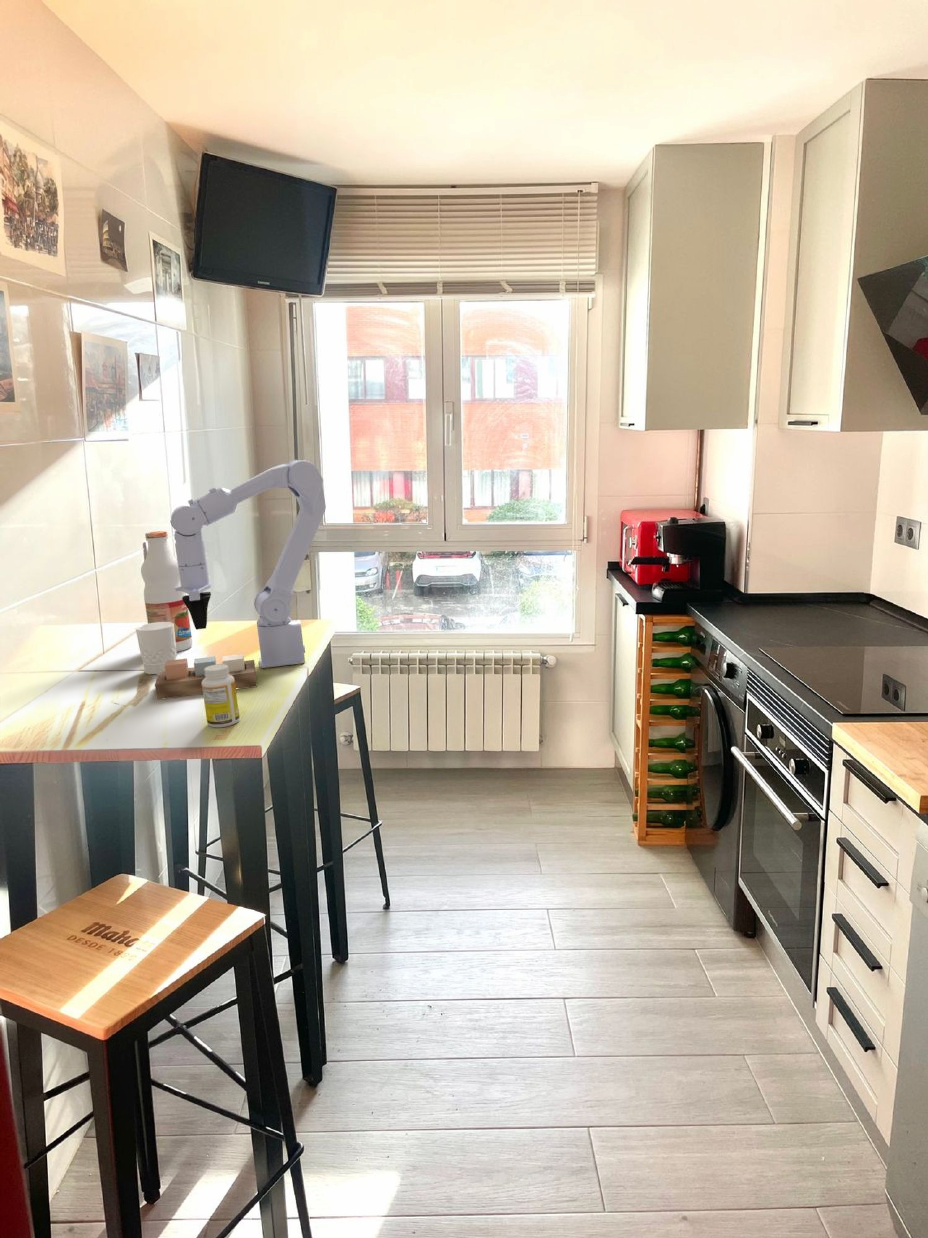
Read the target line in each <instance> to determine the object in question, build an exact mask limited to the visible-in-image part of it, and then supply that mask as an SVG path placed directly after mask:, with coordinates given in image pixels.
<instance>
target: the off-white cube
mask: <svg viewBox="0 0 928 1238" xmlns="http://www.w3.org/2000/svg"><path fill="white" fill-rule="evenodd" d="M244 661H245V659H244V654H243V653H240V654H232V655H231V654H230V655H225V656H224V655H223V656H222V664H224V665H227V666H228V670H229V672H232V671H240V670H245V666H244Z"/></svg>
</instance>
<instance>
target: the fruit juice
mask: <svg viewBox="0 0 928 1238" xmlns="http://www.w3.org/2000/svg"><path fill="white" fill-rule="evenodd" d="M144 535H145V540H146V541H147V554H146V557H145V559H144V561H143V562H142V564H141V567H140V574H141V578H142V579H143V582H144V589H143V598H144V599H143V600H144V606H145V607H144V608H145V613H146V619H147V624H149V623H156V622H172V623H174V631H175V641H176V653H179V652H181V651H187V650H189V649H191V648H192V646H193V638H192V636H193V635H192V630H191V622H190V615H189V614H190V613H189V610H188V608H187V606H186V605H185V603H184V602H183V600H182V597H183V596H186V595H187V593H185V592H182V591H175V587H177V586H181V583H180V576H179V569H178V562H177V557H175V555H174V554H173V553H172V552H171V549H170V547H169V543H168V537H169V535H168V532H167V531H166V530H160V531H149V532H146V533H145V534H144Z"/></svg>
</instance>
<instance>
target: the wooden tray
mask: <svg viewBox="0 0 928 1238" xmlns="http://www.w3.org/2000/svg"><path fill="white" fill-rule="evenodd" d="M255 663H256V662H255V660H254V659H252V660H244V666H245V670H240V671H232V672H229V675H232V676H233V677H234V680H235V688H241V689H247V688H246V687H249V688H253V687H252V686H256V687H257V685H256V684H257V672H256V671H257V670H256V664H255ZM216 665H218V664H217V663H216ZM188 670H189V677H185V678H177V679H169V680H167V678H166V671H160V672H159V673H158V674H157V675H156V676H157V677H156V679H155V682H154V689H155V696H156V700H163V698H165V699H171V697H172V698H179V697H186V696H194V694H195V695H201V694H202V693H203V690H202V681H203V679H205V678H206V677H205V675H201V676H195V669H194V666H193V667H188ZM202 695H203V694H202Z"/></svg>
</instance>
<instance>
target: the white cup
mask: <svg viewBox="0 0 928 1238" xmlns="http://www.w3.org/2000/svg"><path fill="white" fill-rule="evenodd" d="M135 632H136V637H137V642H138V643H137V644H138V648H139V652H140V657H141V661H142V663H143V668H144V673H145V674H146V673H148V674H147V675H151V674H156V675H158V673H159V672H160V671H165V663H166V661H170V660H177V657H178V656H177V652H176V641H175V631H174V623H172V622H156V623H149V624H148V623H145V624H142V625H139V626H137V627H136V628H135Z"/></svg>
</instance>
